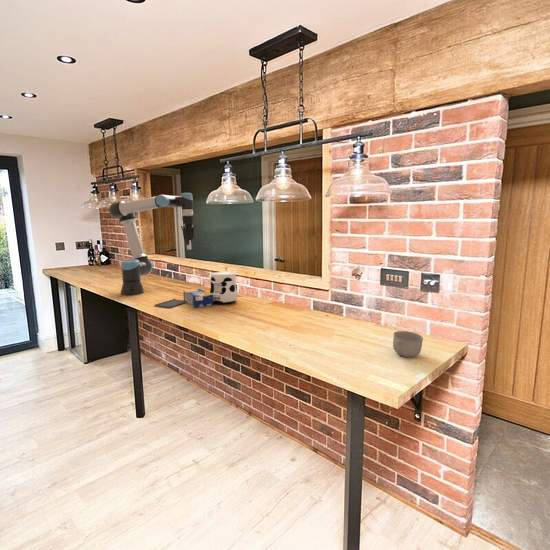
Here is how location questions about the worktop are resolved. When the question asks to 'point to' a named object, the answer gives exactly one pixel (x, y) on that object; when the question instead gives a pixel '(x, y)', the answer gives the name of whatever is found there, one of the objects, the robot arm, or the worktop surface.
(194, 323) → the worktop surface
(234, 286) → the milk container
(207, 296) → the beverage box
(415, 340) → the teacup
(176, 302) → the bar mat
